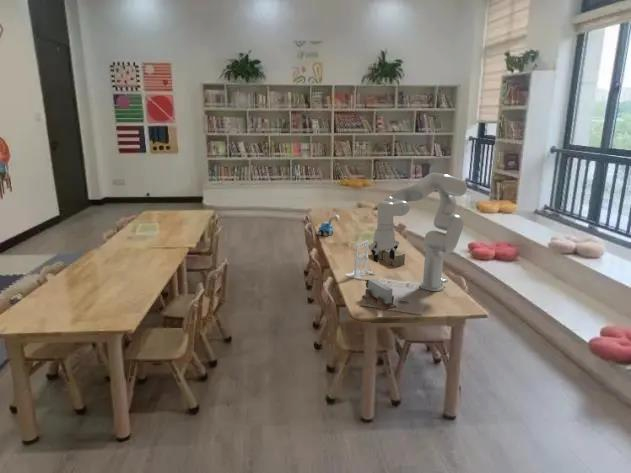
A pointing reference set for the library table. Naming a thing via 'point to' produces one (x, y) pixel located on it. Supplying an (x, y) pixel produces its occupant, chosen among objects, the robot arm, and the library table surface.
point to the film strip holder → (356, 272)
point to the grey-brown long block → (385, 254)
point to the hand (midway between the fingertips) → (383, 260)
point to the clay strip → (380, 290)
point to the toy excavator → (327, 227)
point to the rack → (378, 301)
